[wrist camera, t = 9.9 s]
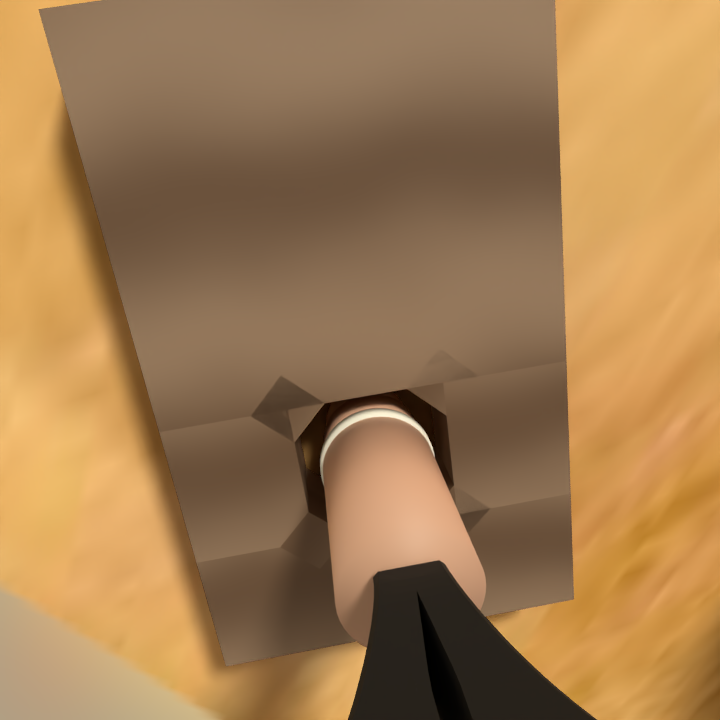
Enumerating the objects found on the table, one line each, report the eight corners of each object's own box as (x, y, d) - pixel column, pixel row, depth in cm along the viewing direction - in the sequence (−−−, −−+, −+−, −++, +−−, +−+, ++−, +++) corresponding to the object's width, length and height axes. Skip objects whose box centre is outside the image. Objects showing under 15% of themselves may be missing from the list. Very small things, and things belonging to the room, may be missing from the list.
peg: (417, 458, 21) (489, 645, 13) (321, 469, 20) (339, 667, 13) (413, 368, 20) (488, 517, 12) (311, 379, 19) (324, 539, 12)
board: (544, 550, 22) (573, 599, 20) (232, 609, 22) (226, 666, 20) (514, -36, 16) (552, -64, 14) (76, 27, 16) (38, 9, 13)
